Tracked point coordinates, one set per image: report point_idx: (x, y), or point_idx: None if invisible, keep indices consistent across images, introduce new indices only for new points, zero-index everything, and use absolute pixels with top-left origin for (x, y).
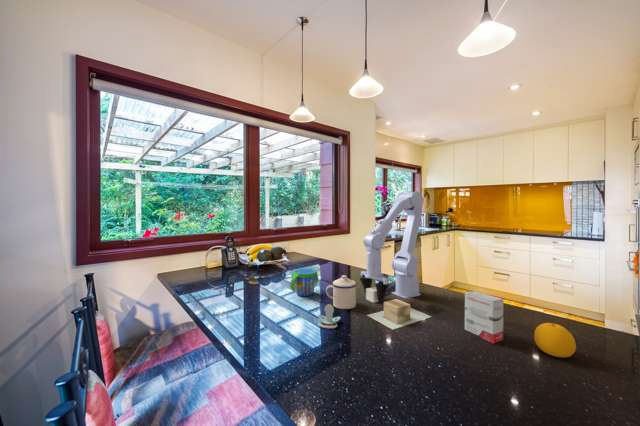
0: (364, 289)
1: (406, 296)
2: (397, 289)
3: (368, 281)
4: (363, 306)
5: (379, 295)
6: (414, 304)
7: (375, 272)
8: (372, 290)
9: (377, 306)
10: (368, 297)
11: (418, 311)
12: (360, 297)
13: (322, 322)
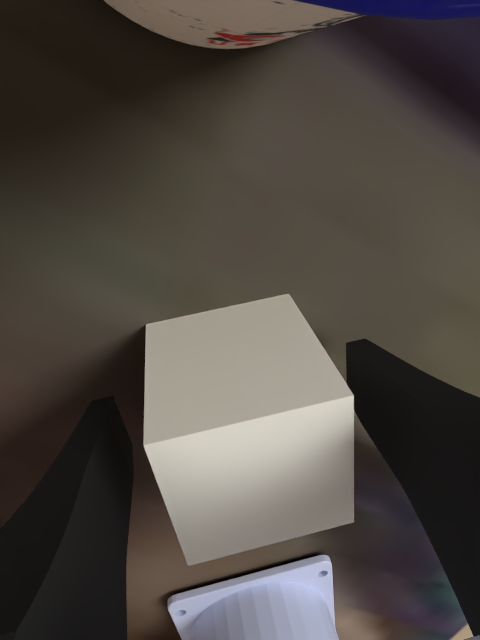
0: (409, 372)
1: (195, 619)
2: (274, 636)
3: (464, 537)
4: (104, 158)
5: (55, 465)
6: None
7: None
8: (208, 449)
9: (60, 335)
10: (253, 332)
11: None
12: (408, 276)
13: None
